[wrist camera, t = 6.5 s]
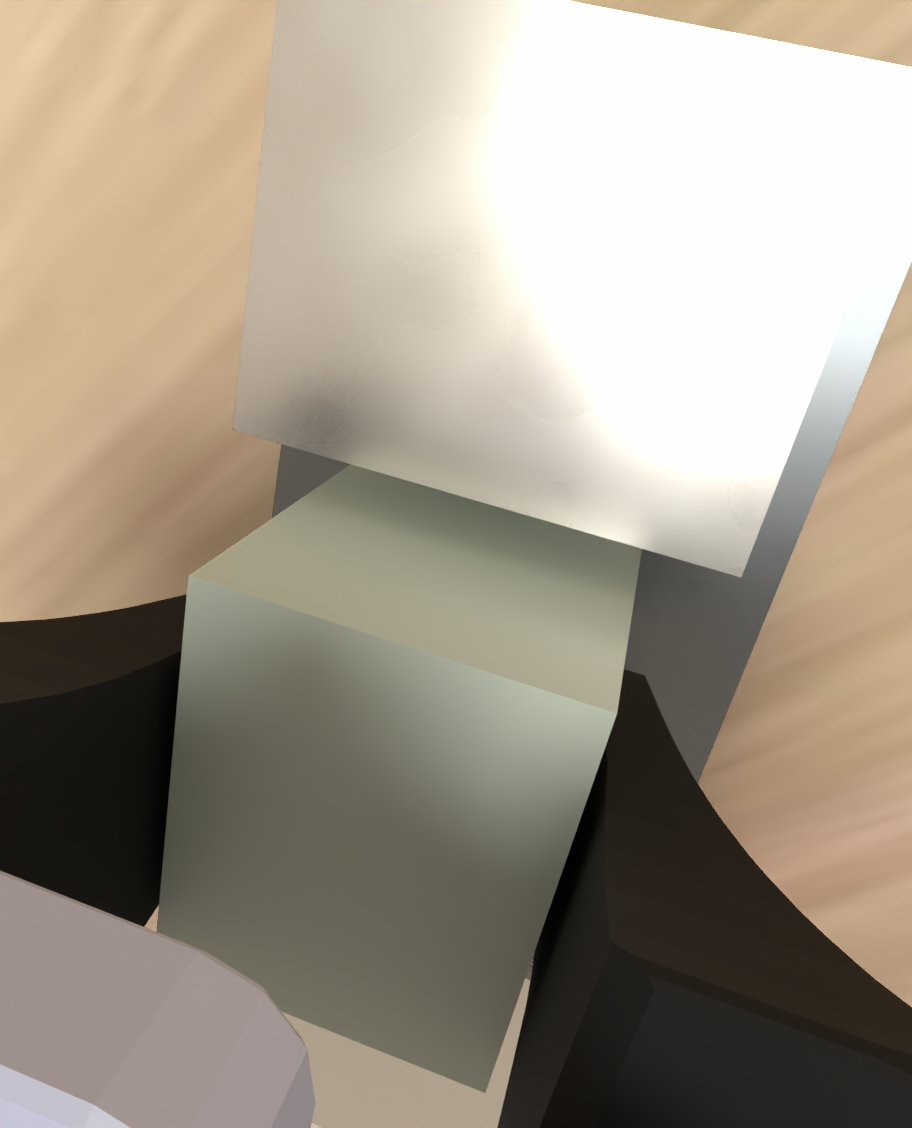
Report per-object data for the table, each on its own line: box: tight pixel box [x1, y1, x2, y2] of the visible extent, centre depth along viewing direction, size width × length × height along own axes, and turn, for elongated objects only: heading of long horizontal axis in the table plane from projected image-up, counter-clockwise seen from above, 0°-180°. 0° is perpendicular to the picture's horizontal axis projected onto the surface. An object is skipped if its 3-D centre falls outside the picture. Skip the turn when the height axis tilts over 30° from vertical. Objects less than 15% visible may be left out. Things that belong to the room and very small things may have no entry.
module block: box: [157, 464, 642, 1093], centre depth 11 cm, size 5×4×6 cm
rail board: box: [232, 0, 912, 1128], centre depth 14 cm, size 17×9×6 cm, turn 167°
